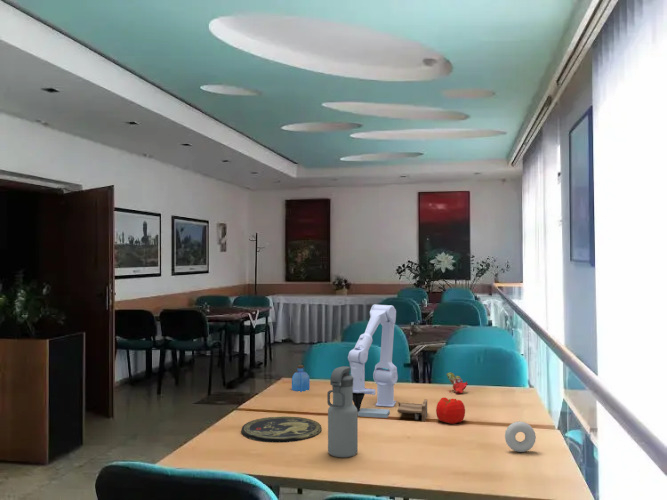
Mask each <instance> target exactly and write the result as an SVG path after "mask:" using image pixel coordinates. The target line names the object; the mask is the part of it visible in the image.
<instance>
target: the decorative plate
mask: <svg viewBox="0 0 667 500" xmlns="http://www.w3.org/2000/svg"><path fill="white" fill-rule="evenodd" d="M322 430H323V429H322V424H320V423H319V422H318V421H316V420H313V419H310V418H306V417H301V416H289V415H288V416H268V417H261V418H257V419H253V420H250V421H248V422H246V423H245V424H243V425H242V427H241V430H240V431H241V434H242V436H243V437H245V438H247V439H249V440H253V441H256V442H263V443H274V444H275V443H277V444H278V443H294V442H301V441H302V442H303V441H305V440H309V439H312V438H315V437H317V436H319V435H320V434H321V433H322Z"/></svg>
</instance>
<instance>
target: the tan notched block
mask: <svg viewBox="0 0 667 500" xmlns="http://www.w3.org/2000/svg"><path fill="white" fill-rule="evenodd" d="M397 412H398V414H407V415H408V414H410V415H411V414H413V415H414V420H416V421H417V420H418V421H419V420H420V416H421V422H426V420H427V416H428V399H424V398H423V402H422V403H414V402H413V403H408V402H398V408H397Z"/></svg>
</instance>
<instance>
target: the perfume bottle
mask: <svg viewBox="0 0 667 500" xmlns="http://www.w3.org/2000/svg"><path fill="white" fill-rule="evenodd" d="M296 369H297V371H295V372H294V373H293V375H292V377H291V391H292V390H293V392H298V391H300V393H302V391H303V392H307V391H310V390H311V389H310V388H311V387H310V385H311V384H310V382H311V381H310V379H311V378H310V376H309V374H308V373H307V372H306V371H305V365H303V364H302V365H301V364H298V365H297V368H296ZM309 389H310V390H309ZM306 390H307V391H306Z"/></svg>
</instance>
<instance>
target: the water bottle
mask: <svg viewBox="0 0 667 500" xmlns="http://www.w3.org/2000/svg"><path fill="white" fill-rule="evenodd" d="M350 372H351V367H350V366H343V365H342V366H339V367H336V368H334V369H333V371H332V372H331V375H330V379H329V381H330V386H331V387H332V390H328V391H327V405H328V406H329V407H328V410H327V452H328V454H329V455H331V456H332V457H334V458H343V459H344V458H351V457H354V456H356V455H357V454H358V449H359V448H358V447H359V446H358V442H359V440H358V437H359V436H358V435H359V432H358V425H359V424H358V417H359V416H358V412H357V408H356V407H355V405H354V402H353V377H352V376H351V373H350ZM331 394H332V403H331Z"/></svg>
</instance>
